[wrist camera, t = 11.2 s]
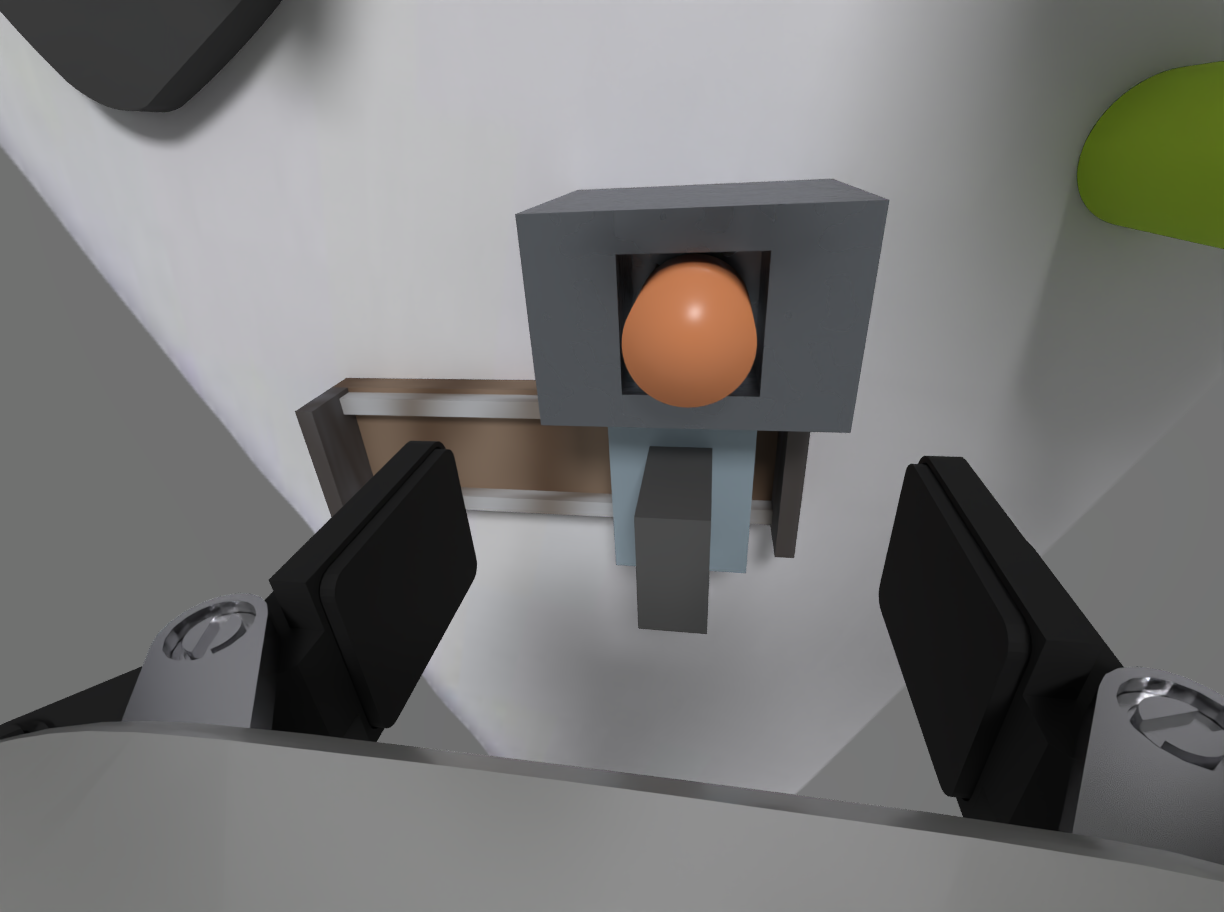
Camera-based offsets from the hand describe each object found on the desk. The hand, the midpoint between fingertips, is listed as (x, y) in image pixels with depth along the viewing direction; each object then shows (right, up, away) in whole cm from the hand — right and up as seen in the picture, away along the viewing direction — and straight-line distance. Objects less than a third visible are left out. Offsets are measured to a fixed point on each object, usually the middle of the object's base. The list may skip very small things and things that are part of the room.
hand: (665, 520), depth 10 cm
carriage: (+3, 0, +21) cm, 21 cm away
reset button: (+2, +7, +12) cm, 14 cm away
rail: (-4, +2, +25) cm, 25 cm away
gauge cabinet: (+3, +11, +19) cm, 22 cm away
